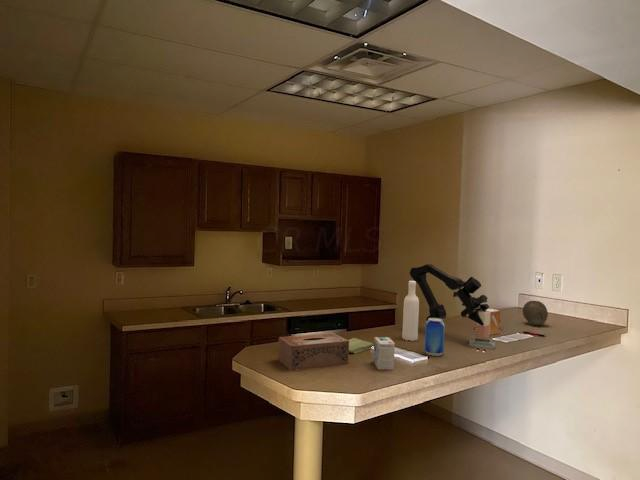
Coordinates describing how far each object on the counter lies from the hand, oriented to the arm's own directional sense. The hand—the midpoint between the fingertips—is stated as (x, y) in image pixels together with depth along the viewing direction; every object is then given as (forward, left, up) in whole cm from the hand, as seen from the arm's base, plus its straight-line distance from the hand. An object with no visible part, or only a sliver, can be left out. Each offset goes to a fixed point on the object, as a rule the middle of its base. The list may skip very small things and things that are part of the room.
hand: (485, 324), depth 229 cm
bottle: (-36, -5, -11) cm, 38 cm away
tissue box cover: (-66, -64, -11) cm, 93 cm away
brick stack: (-1, +1, -7) cm, 7 cm away
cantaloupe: (+27, +67, -11) cm, 73 cm away
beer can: (-21, -27, -11) cm, 36 cm away
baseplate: (-1, +1, -11) cm, 11 cm away
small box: (+2, +30, -11) cm, 32 cm away
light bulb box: (-38, -55, -11) cm, 68 cm away
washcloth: (-57, -36, -11) cm, 68 cm away
